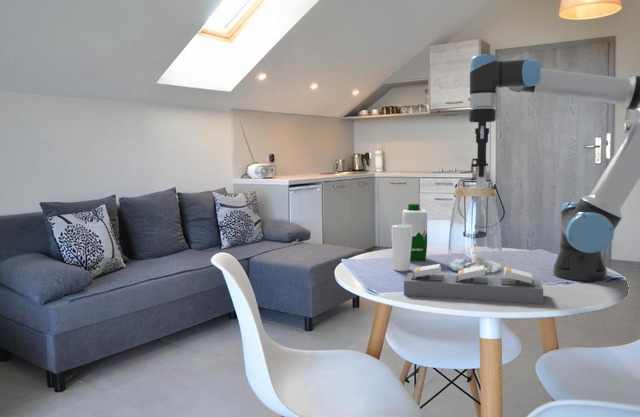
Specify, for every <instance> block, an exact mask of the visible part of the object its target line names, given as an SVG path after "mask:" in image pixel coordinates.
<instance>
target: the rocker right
mask: <svg viewBox="0 0 640 417" xmlns="http://www.w3.org/2000/svg"><path fill="white" fill-rule="evenodd" d="M503 278H512V279H516V280H520V281H524V282H528V283H532V279H533V278H534V277H533V274H532V272H527V271H524V270H520V269H516V268H512V267H508V266H504V269H503Z"/></svg>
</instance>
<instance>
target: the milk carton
mask: <svg viewBox="0 0 640 417" xmlns="http://www.w3.org/2000/svg"><path fill="white" fill-rule="evenodd" d="M402 224H405V225H411V226H412V245H411V257H410V262H426V260H427V249H428V212H427V211H426V210H425V209H422V208H421V209H420V204H419V203H408V206H407V208H406V209H402Z"/></svg>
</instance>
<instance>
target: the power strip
mask: <svg viewBox="0 0 640 417" xmlns="http://www.w3.org/2000/svg"><path fill="white" fill-rule="evenodd" d="M403 296H413V297H415V296H416V297H428V298H429V297H430V298H444V299H445V298H447V299H461V300H474V301H493V302H504V303H505V302H507V303H518V304H519V303H521V304H537V305H544V286H543V284H542V282H541V280H540V279H532V283H528V282H524V281H520V280H516V279H512V278H508V277H498V276H497V277H496V276H495V277H493V276H477V277H472V278H468V279H463V280H459V277H458V274H457V275H456V274H440V273H438V274H432V275H425V276H419V277H415V274H414V272H408V274H407V275H406V277H405V279H404V280H403Z"/></svg>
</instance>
